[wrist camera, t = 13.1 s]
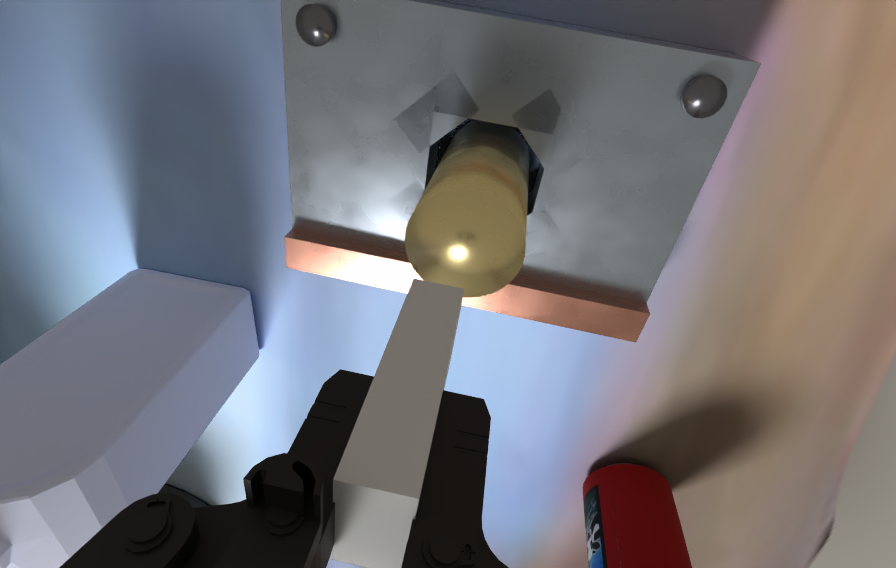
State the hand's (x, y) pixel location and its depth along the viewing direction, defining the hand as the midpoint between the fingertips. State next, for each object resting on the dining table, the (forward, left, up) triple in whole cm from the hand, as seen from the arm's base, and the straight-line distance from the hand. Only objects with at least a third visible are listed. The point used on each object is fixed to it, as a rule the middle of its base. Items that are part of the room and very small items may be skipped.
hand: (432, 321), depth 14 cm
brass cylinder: (0, 0, -14) cm, 14 cm away
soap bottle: (-19, -16, -14) cm, 28 cm away
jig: (0, 0, -14) cm, 14 cm away
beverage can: (+16, -24, -14) cm, 32 cm away
